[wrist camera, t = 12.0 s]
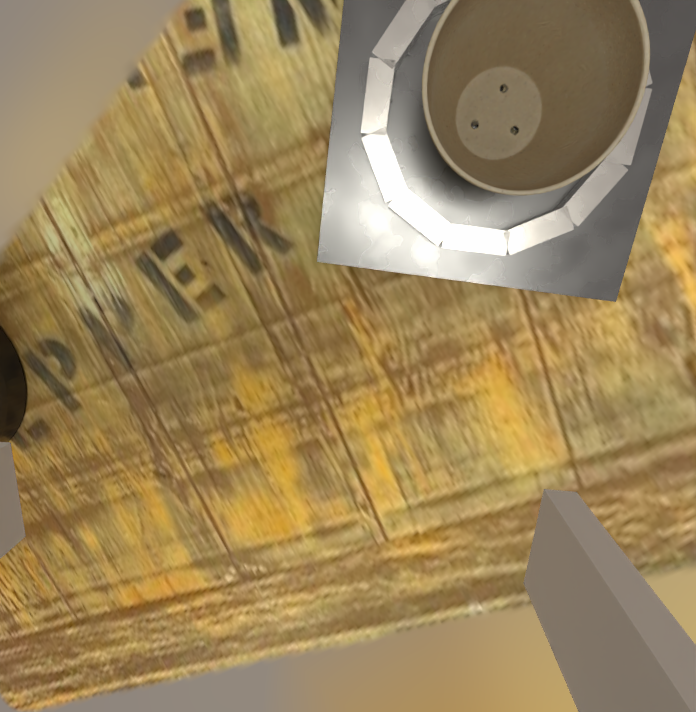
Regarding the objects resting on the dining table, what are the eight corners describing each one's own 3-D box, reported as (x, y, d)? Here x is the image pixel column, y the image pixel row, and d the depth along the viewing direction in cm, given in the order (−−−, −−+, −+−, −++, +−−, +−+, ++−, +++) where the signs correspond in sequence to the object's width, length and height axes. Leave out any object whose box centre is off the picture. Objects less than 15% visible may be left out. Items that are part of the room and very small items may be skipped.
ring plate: (319, 260, 31) (314, 262, 29) (355, -90, 26) (353, -119, 23) (608, 299, 30) (625, 304, 28) (710, -56, 25) (741, -83, 22)
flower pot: (382, 93, 27) (381, 45, 20) (534, -18, 25) (590, -115, 18) (462, 235, 29) (486, 236, 22) (610, 143, 27) (688, 111, 20)
